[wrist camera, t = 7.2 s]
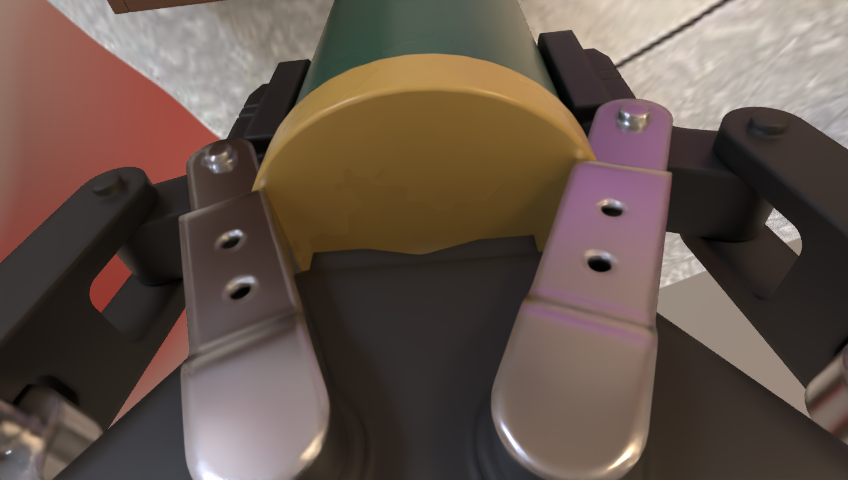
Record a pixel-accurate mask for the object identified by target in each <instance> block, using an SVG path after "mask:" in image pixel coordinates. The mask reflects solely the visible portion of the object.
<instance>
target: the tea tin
mask: <svg viewBox="0 0 848 480" xmlns="http://www.w3.org/2000/svg"><path fill="white" fill-rule="evenodd" d="M576 158H580V159H587V160H594V161H597V159H596V157H595V155H594V152H593V150H592V148H591V146H590V144H589V141H588V139H587V137H586V135H585V133H584V131H583V129H582V127H581V126H580V124H579V123H578V122H577V120H576V119H575V117H574V116H573V114H572V113H571V112H570V111H569V110H568V109H567V108H566V107H565V106H564V105H563V104H562V102H561V101H560V99H559V97H558V94H557V92H556V90H555V87H554V85H553V82H552V80H551V78H550V75H549V73H548V71H547V68H546V66H545V64H544V61H543V59H542V57H541V54H540V52H539V50H538V47H537V45H536V43H535V40H534V38H533V36H532V33H531V31H530V29H529V26H528V24H527V22H526V19H525V17H524V15H523V12H522V10H521V7H520V5H519V3H518V0H335V1H334V3H333V6H332V9H331V11H330V14H329V16H328V19H327V22H326V24H325V27H324V30H323V32H322V35H321V38H320V40H319V43H318V46H317V48H316V51H315V54H314V56H313V59H312V62H311V64H310V67H309V70H308V72H307V75H306V77H305V80H304V83H303V85H302V88H301V91H300V93H299V96H298V99H297V101H296V104H295V107H294V108H293V109H292V110H291V111H290V113H289V114H288V115H287V117H286V118H285V119H284V120H283V122H282V123H281V124H280V126H279V127H278V129H277V131H276V133H275V135H274V137H273V138H272V140H271V142H270V144H269V147H268V149H267V152H266V154H265V157H264V159H263V162H262V164H261V166H260V169H259V171H258V174H257V176H256V180H255V183H254V186H253V189H252V191H254V190H257V189H260V188H263V187H265V189H266V192H267V194H268V196H269V198H270V201H271V203H272V205H273V207H274V209H275V212H276V214H277V216H278V218H279V220H280V223H281V225H282V227H283V229H284V232H285V234H286V236H287V238H288V240H289V243H290V245H291V247H292V249H293V251H294V254H295V256H296V258H297V260H298V262H299V265H300V267H301V269H302V271H306V270H309V269H310V264H311V260H312V255H313V253H315V252H328V251H340V250H353V249H365V248H367V249H375V250H383V251H392V252H400V253H409V254H427V253H431V252H434V251H438V250H441V249H445V248H449V247H452V246H456V245H460V244H463V243H467V242H470V241H474V240H478V239H488V238H501V237H513V236H526V235H534V237H535V242H536V246H537V250H538V251H540V252H544V249H545V246H546V243H547V240H548V237H549V234H550V231H551V228H552V225H553V222H554V220H555V217H556V214H557V211H558V208H559V205H560V202H561V199H562V196H563V193H564V190H565V187H566V185H567V182H568V179H569V176H570V173H571V170H572V167H573V164H574V161H575V159H576Z"/></svg>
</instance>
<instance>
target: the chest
mask: <svg viewBox="0 0 848 480" xmlns="http://www.w3.org/2000/svg"><path fill="white" fill-rule="evenodd" d="M107 1H108V2H109V4H110V6H111V8H112V10H113V11H114V13H115V14H121V13H129V12H137V11H145V10H153V9H160V8H168V7H176V6H184V5H192V4H200V3H208V2H216V1H224V0H107Z"/></svg>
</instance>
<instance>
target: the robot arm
mask: <svg viewBox="0 0 848 480" xmlns="http://www.w3.org/2000/svg"><path fill="white" fill-rule="evenodd" d="M537 47H538V50H539V52H540V54H541V57H542V59H543V61H544V64H545V66H546V68H547V71H548V73H549V75H550V78H551V80H552V82H553V85H554V87H555V90H556V92H557V94H558V97H559V99H560V101H561V102H562V104H563V105H564V106H565V107H566V108H567V109H568V110H569V111H570V112H571V113H572V114H573V116H574V117H575V119H576V120H577V122H578V123H579V124H580V126H581V127H582V129H583V131H584V133H585V135H586V137H587V139H588V141H589V144H590V146H591V148H592V150H593V152H594V155H595V157H596V159H597V161H594V160H587V159H580V158H576V159H575V161H574V164H573V167H572V170H571V173H570V176H569V179H568V182H567V185H566V187H565V190H564V193H563V196H562V199H561V202H560V205H559V208H558V211H557V214H556V217H555V220H554V222H553V225H552V228H551V231H550V234H549V237H548V240H547V243H546V246H545V249H544V252H540V251H538V250H537V246H536V242H535V237H534V235H526V236H513V237H501V238H488V239H478V240H474V241H470V242H467V243H463V244H460V245H456V246H452V247H449V248H445V249H441V250H438V251H434V252H431V253H427V254H409V253H400V252H392V251H383V250H375V249H367V248H365V249H353V250H340V251H328V252H315V253H313V255H312V260H311V264H310V269H309V270H306V271H302V269H301V267H300V265H299V262H298V260H297V258H296V256H295V254H294V251H293V249H292V247H291V245H290V243H289V240H288V238H287V236H286V234H285V232H284V229H283V227H282V225H281V223H280V220H279V218H278V216H277V214H276V212H275V209H274V207H273V205H272V203H271V201H270V198H269V196H268V194H267V192H266V189H265V187H263V188H260V189H257V190H254V191H252V189H253V186H254V183H255V180H256V176H257V174H258V171H259V169H260V166H261V164H262V162H263V159H264V157H265V154H266V152H267V149H268V147H269V144H270V142H271V140H272V138H273V137H274V135H275V133H276V131H277V129H278V127H279V126H280V124H281V123H282V122H283V120H284V119H285V118H286V117H287V115H288V114H289V113H290V111H291V110H292V109H293V108H294V107H295V104H296V101H297V99H298V96H299V93H300V91H301V88H302V85H303V83H304V80H305V77H306V75H307V72H308V70H309V67H310V64H311V61H310V60H309V59H305V60H297V61H288V62H280V63H279V64H278V66H277V68H276V70H275V72H274V74H273V76H272V78H271V80H270V82H269V84H262V85H261V86H260V87H259V88H258V89H256V90H255V91H254V92H253V93H251V94H250V95H249V97H248V99H247V101H246V103H245V105H244V108H243V109H242V110H241V112H240V114H239V118H237V120H236V122H235V124H234V126H233V127H232V129H231V131H230V133H229V135H228V137H227V139H224V140H220V141H216V142H214V143H211V144H209V145H206V146H204V147H203V148H201V149H199V150H198V151H197V152H195V153H194V154H193V155H192V156H191V157H190V158H189V160H188V162H187V164H186V171H187V175H185V176H181V177H178V178H174V179H171V180H167V181H164V182H160V183H157V184H154V185H153V184H152V183H151V181H150V179H149V178H148V177H147V175H146V174H145V172H144V171H143V170H141V169H140V168H136V167H123V168H117V169H113V170H110V171H107V172H105V173H102V174H100V175H98V176H96V177H94V178H92V179H91V180H89V181H88V182H86V183H85V184H84V185H83V186H81V187H80V188H79V189H78V190H77V191H76V192H75V193H74V194H73V195H72V196H71V197H70V198H69V199H68V200H67V201H66V202H65V203H63V204H62V205H61V206H60V207H59V208H58V209H57V210H56V211H55V212H54V213H53V214H52V215H51V216H50V217H49V218H48V219H46V220H45V221H44V222H43V223H42V224H41V225H40V226H39V227H38V228H37V229H36V230H35V231H34V232H33V233H32V234H31V235H30V236H29V237H27V238H26V240H24V241H23V243H21V244H20V245H19V246H18V247H17V248H16V249H15V250H14V251H13V252H12V253H11V254H10V255H8V256H7V257H6V258H5V259H4V260H3V261H2V262H1V263H0V480H848V149H846V148H845V147H843V146H842V145H840V144H839V143H837V142H836V141H834V140H833V139H831V138H830V137H828V136H827V135H825V134H824V133H822V132H821V131H819V130H818V129H816V128H815V127H813V126H812V125H810V124H809V123H807V122H806V121H804V120H803V119H801V118H799V117H797V116H795V115H793V114H791V113H788V112H785V111H781V110H777V109H772V108H765V107H745V108H740V109H736V110H733V111H731V112H729V113H727V114H726V115H725V116H724V117H723V120H722V122H721V125H720V127H719V130H718V131H711V130H699V129H687V128H680V127H675V126H672V125H673V117H672V114H671V113H670V112H669V111H668V110H667V109H666V108H664V107H663V106H661V105H659V104H657V103H654V102H651V101H647V100H642V99H636V97H635V96H634V94H633V93H632V91H631V90H630V88H629V87H628V85H627V84H626V82H625V81H624V79H623V78H621V75H620V73H619V72H618V70H616V67H615V66H614V64H613V62H612V61H611V59H610V58H609V57H608V56H606V55H605V54H603V53H601V52H599V51H597V50H596V49H594V48H593V49H584V50H583V48H582V47H581V45H580V43H579V41H578V40H577V38H576V36H575V35H574V33H573V31H572V30H566V31H558V32H549V33H541V34H540V35H539V38H538V45H537ZM773 208H775V209H776V210H777V211H778V212H780V213H781V214H782V215H783V216H784V217H785V218H786V219H787V220H789V221H790V222H791V223H792V224H793V225H794V226H795V227H796V229H797V230H798V232H799V234H800V236H801V240H802V250H801V253H800V255H799V256H798V255H797V254H796V253H795V252H794V251H793V250H792V249H791V248H790V247H789V246H788V245H787V244H786V243H784V242H783V241H782V240H781V239H780V238H779V237H778V236H777V235H776V234H775V233H774V232H773V231H772V230H771V229H770V228H769V227H768V226H767V225H766V224H765V222H766V221H767V219H768V217H769V215H770V214H771V212H772V210H773ZM666 232H672V233H679V234H680V236H681V238H682V240H683V242H684V243H685V244H686V246H687V247H688V248H689V249H690V250H691V252H692V253H693V254H694V255H695V256H696V258H697V259H698V260H699V261H700V262H701V264H702V265H703V266H704V267H705V268H706V270H707V271H708V272H709V273H710V274H711V276H712V277H713V278H714V279H715V280H716V282H717V283H718V284H719V285H720V286H721V288H722V289H723V290H724V291H725V292H726V294H727V295H728V296H729V297H730V298H731V300H732V301H733V302H734V303H735V305H736V306H737V307H738V308H739V309H740V311H741V312H742V313H743V314H744V315H745V316H746V318H747V319H748V320H749V321H750V322H751V324H752V325H753V326H754V327H755V329H756V330H757V331H758V332H759V333H760V335H761V336H762V337H763V338H764V339H765V341H766V342H767V343H768V344H769V345H770V347H771V348H772V349H773V350H774V351H775V353H776V354H777V355H778V356H779V357H780V359H781V360H782V361H783V362H784V364H785V365H786V366H787V367H788V368H789V370H790V371H791V372H792V373H793V374H794V376H795V377H796V378H797V379H798V380H799V382H800V383H801V384H802V385H803V386H804V388H805V389H806V391H805V404H806V408H807V411H808V413H809V415H810V417H811V419H812V420H811V419H810V418H808V417H807V416H806V415H804V414H803V413H801V412H800V411H798V410H797V409H795V408H794V407H793V406H791V405H790V404H788V403H787V402H785V401H784V400H783V399H781V398H779V397H778V396H777V395H775V394H774V393H772V392H771V391H769V390H768V389H767V388H765V387H764V386H762V385H761V384H759V383H758V382H757V381H755V380H754V379H752V378H751V377H749V376H748V375H746V374H745V373H744V372H742V371H741V370H739V369H738V368H736V367H735V366H734V365H732V364H730V363H729V362H728V361H726V360H725V359H724V358H722V357H721V356H719V355H718V354H716V353H715V352H713V351H712V350H710V349H709V348H708V347H706V346H705V345H703V344H702V343H701V342H699V341H698V340H696V339H695V338H693V337H692V336H690V335H689V334H688V333H686V332H685V331H683V330H682V329H680V328H679V327H678V326H676V325H675V324H673V323H672V322H670V321H669V320H667V319H666V318H664V317H663V316H662V315H660V314H659V313H657V302H658V294H659V286H660V277H661V268H662V260H663V251H664V242H665V234H666ZM115 254H117V256H118V257H119V258H120V259H121V260H122V261H123V263H124V264H125V265H126V266H127V267H128V268H129V270H130V271H131V272H132V274H131V276H130V277H129V278H128V279H127V280H126V282H125V283H124V284H123V286H122V287H121V288H120V290H119V291H118V292H117V293H116V295H115V296H114V297H113V298H112V300H111V301H110V302H109V303H108V305H107V306H106V307H105V309H104V310H103V311H102V313H100V312H99V311H98V310H97V309H96V308H95V307H94V306H93V305H92V303H91V300H90V296H89V291H90V287H91V284H92V282H93V280H94V279H95V277H96V276H97V275H98V274H99V273H100V271H101V270H102V269H103V268H104V267H105V266H106V264H107V263H108V262H109V261H110V260H111V258H112V257H113V256H114V255H115ZM185 307H186V315H187V327H188V339H189V355H188V358H187V359H186V360H184V362H183V363H182V364H181V365H180V366H178V367H177V368H176V369H175V370H174V371H173V372H172V373H171V374H169V375H168V376H167V377H166V378H165V379H164V380H163V381H161V382H160V383H159V384H158V385H157V386H156V387H155V388H154V389H153V390H151V391H150V392H149V393H148V394H147V395H146V396H145V397H144V398H142V399H141V400H140V401H139V402H138V403H137V404H136V405H135V406H134V407H132V408H131V409H130V410H129V411H128V412H127V413H126V414H125V415H124V416H122V417H121V418H120V419H119V420H118V421H117V422H116V423H115V424H113V425H112V426H111V427H110V428H109V426H110V425H111V423H112V422H113V420H114V419H115V417H116V415H117V414H118V412H119V411H120V409H121V407H122V406H123V404H124V403H125V401H126V400H127V398H128V397H129V395H130V393H131V392H132V390H133V389H134V387H135V386H136V384H137V382H138V381H139V379H140V377H141V376H142V375H143V373H144V371H145V370H146V368H147V367H148V365H149V364H150V362H151V360H152V359H153V357H154V356H155V354H156V353H157V351H158V349H159V348H160V346H161V345H162V343H163V342H164V340H165V338H166V337H167V335H168V334H169V332H170V331H171V329H172V327H173V326H174V324H175V323H176V321H177V320H178V318H179V316H180V315H181V313H182V312H183V310H184V309H185ZM108 428H109V429H108Z"/></svg>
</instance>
